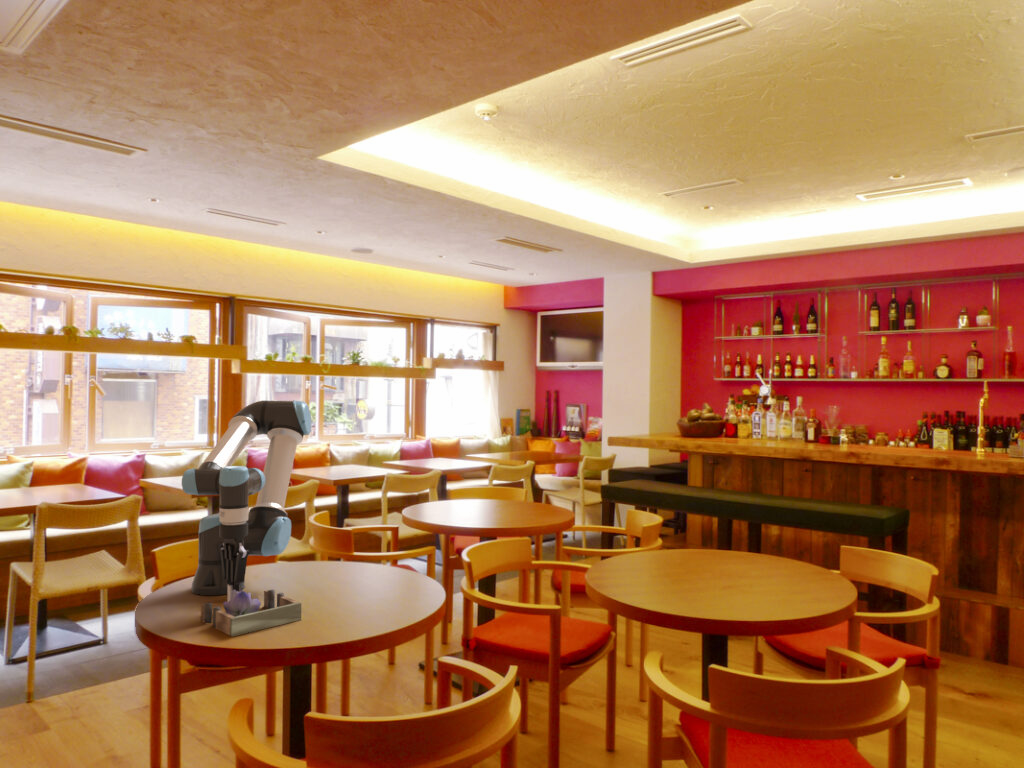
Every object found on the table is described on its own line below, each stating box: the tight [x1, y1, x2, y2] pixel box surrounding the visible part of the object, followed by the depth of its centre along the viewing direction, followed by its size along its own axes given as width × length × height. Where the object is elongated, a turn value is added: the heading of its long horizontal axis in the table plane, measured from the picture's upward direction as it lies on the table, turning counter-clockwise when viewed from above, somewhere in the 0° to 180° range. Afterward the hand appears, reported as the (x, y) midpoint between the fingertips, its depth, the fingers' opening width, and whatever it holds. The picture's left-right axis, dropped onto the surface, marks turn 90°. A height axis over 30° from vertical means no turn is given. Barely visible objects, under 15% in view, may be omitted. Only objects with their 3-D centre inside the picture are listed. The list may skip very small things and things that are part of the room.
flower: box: [222, 589, 262, 617], centre depth 186 cm, size 9×9×10 cm
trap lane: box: [200, 589, 302, 638], centre depth 188 cm, size 18×20×5 cm
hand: (233, 606), depth 197 cm, fingers closed
